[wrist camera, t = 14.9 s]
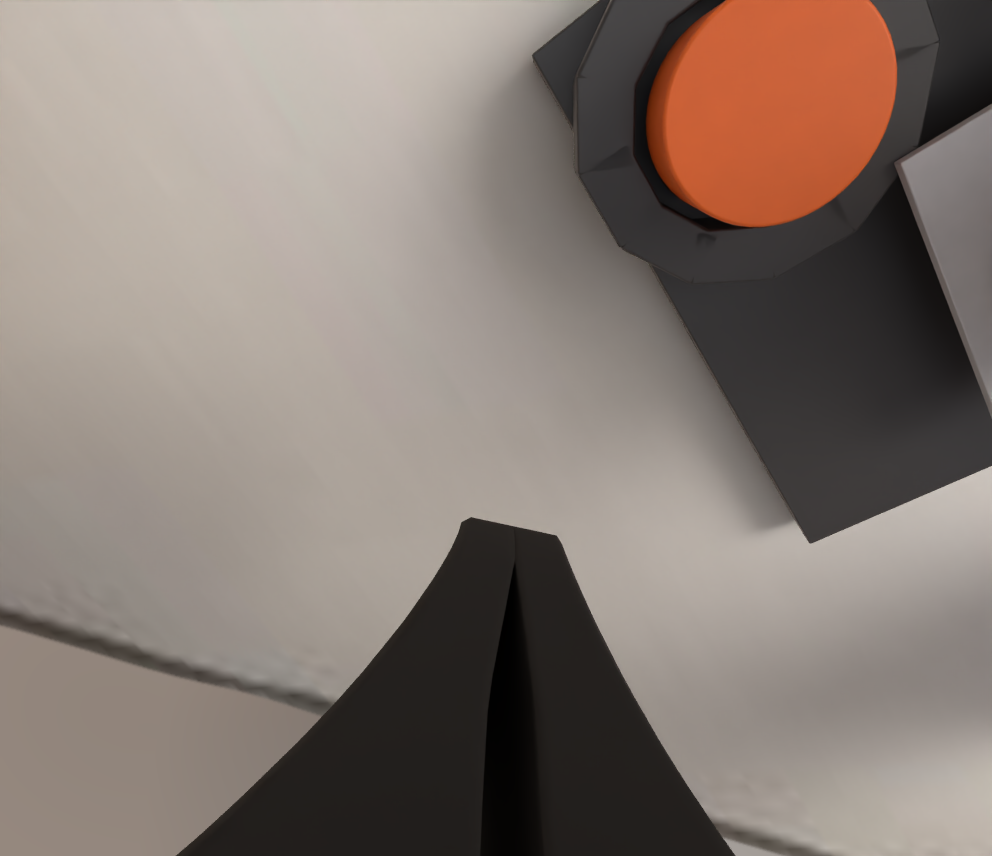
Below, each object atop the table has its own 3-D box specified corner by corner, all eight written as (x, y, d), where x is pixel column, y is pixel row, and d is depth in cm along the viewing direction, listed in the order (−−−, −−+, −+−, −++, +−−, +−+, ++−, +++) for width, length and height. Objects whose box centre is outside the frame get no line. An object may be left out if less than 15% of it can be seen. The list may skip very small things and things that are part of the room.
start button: (875, 140, 13) (931, 143, 11) (698, 249, 14) (721, 268, 12) (798, -57, 11) (848, -92, 9) (610, 85, 12) (621, 78, 11)
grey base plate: (1369, 267, 15) (1543, 297, 13) (782, 528, 20) (819, 590, 17) (1290, -546, 10) (1566, -792, 7) (516, 72, 15) (510, 61, 12)
